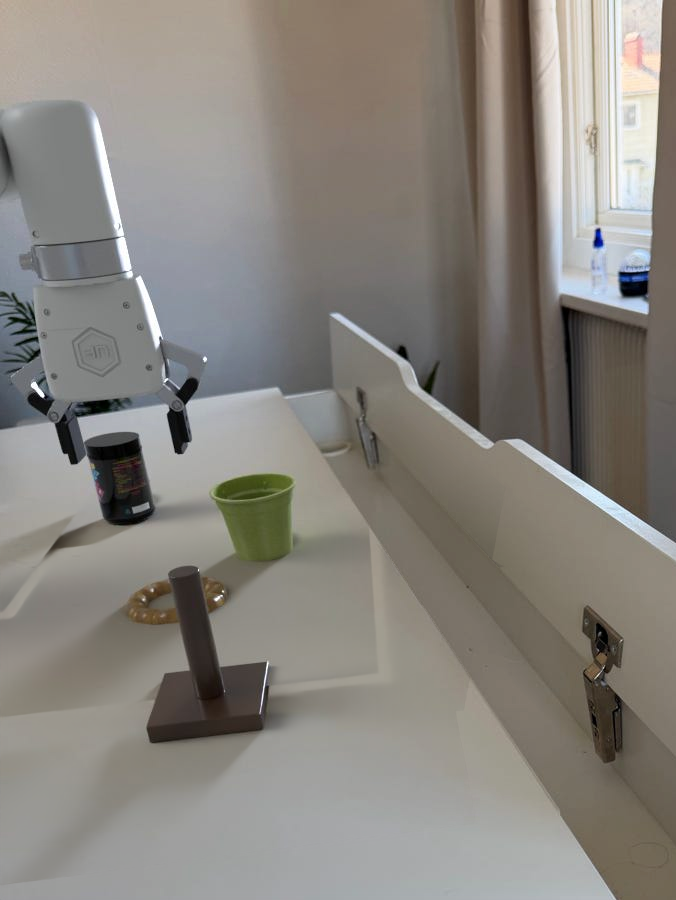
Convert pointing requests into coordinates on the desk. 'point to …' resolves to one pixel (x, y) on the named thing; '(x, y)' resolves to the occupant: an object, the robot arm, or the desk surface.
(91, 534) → the desk surface
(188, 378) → the robot arm
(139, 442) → the supplement container
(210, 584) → the ring
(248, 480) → the plant pot
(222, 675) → the peg stand
